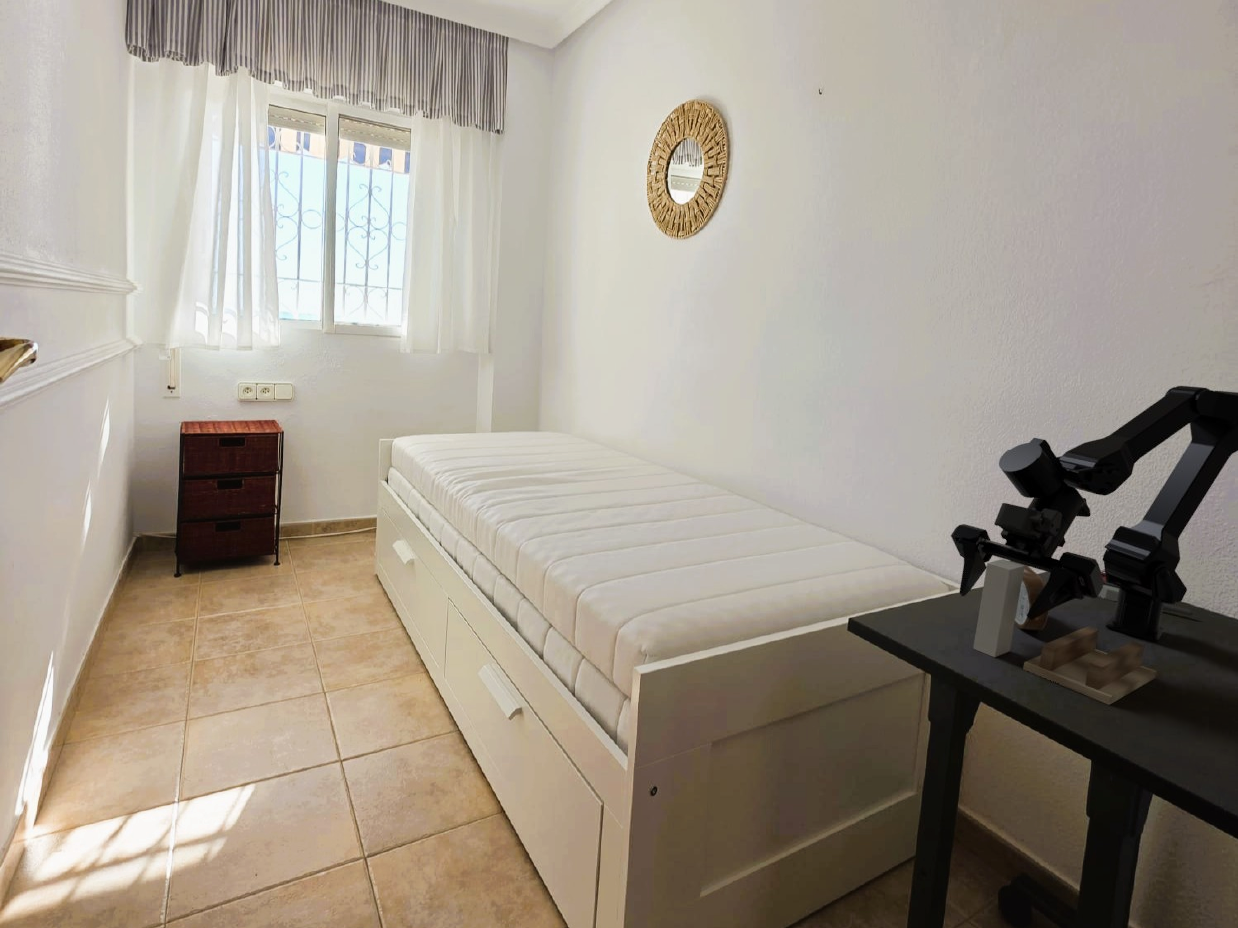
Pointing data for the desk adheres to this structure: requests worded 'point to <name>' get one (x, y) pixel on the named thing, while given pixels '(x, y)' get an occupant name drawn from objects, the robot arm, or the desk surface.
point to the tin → (1029, 600)
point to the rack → (1092, 666)
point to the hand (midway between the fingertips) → (993, 605)
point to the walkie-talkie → (1112, 592)
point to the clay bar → (998, 607)
